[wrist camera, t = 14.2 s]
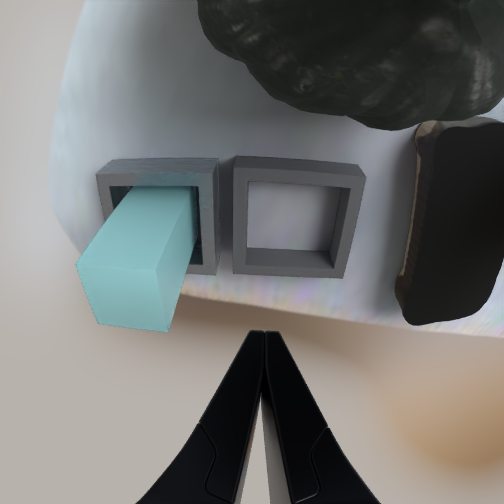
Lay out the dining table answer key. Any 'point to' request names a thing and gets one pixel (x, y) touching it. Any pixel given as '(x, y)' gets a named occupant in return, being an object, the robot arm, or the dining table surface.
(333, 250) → the grey square frame
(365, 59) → the squash
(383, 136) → the dining table surface
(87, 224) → the dining table surface
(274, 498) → the robot arm
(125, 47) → the dining table surface
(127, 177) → the port block
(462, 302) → the black sponge
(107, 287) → the plug
